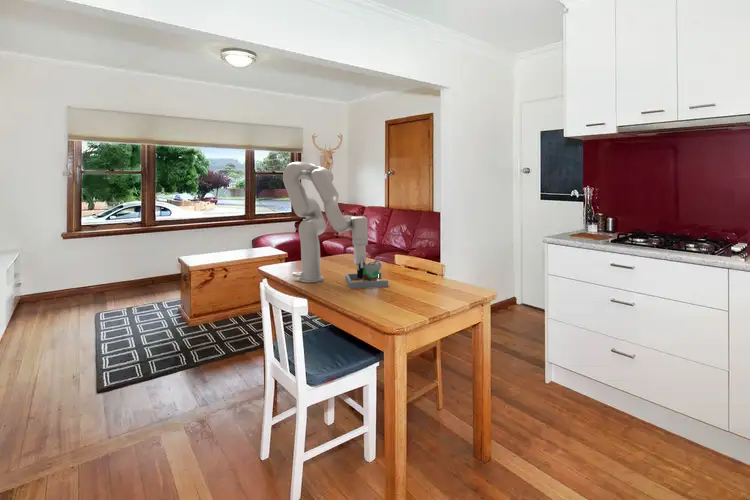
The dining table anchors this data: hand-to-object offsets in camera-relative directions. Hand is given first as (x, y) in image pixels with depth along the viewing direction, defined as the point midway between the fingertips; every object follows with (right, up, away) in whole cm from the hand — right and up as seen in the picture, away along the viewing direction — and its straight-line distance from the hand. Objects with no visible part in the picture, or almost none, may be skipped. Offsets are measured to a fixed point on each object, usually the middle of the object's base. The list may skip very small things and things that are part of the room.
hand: (360, 278), depth 208 cm
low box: (+3, -3, +1) cm, 4 cm away
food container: (+6, -2, +1) cm, 6 cm away
